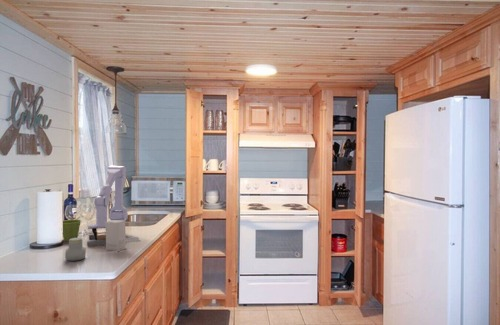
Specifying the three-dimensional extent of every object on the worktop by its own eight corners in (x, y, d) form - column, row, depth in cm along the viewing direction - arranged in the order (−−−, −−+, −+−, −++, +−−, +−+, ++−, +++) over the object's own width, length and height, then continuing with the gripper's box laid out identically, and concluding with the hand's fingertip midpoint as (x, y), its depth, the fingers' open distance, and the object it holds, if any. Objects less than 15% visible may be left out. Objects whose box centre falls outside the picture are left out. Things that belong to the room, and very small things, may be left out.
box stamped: (97, 242, 210) (97, 233, 210) (105, 242, 212) (105, 233, 212) (97, 244, 206) (97, 235, 206) (105, 243, 208) (106, 234, 208)
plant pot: (74, 237, 225) (74, 218, 225) (85, 240, 218) (85, 221, 218) (55, 240, 215) (55, 221, 215) (65, 243, 209) (65, 223, 208)
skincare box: (126, 249, 199) (126, 220, 198) (117, 252, 192) (118, 222, 192) (113, 247, 201) (113, 219, 201) (104, 250, 195) (105, 221, 195)
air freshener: (84, 261, 175) (84, 240, 174) (64, 263, 172) (64, 242, 171) (85, 255, 185) (85, 236, 185) (67, 257, 182) (67, 237, 182)
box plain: (96, 239, 217) (96, 231, 217) (104, 238, 219) (104, 230, 219) (97, 241, 213) (97, 232, 213) (106, 240, 216) (106, 231, 215)
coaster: (118, 239, 222) (118, 238, 222) (137, 237, 226) (137, 236, 226) (120, 243, 212) (120, 242, 212) (140, 241, 216) (140, 240, 216)
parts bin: (87, 240, 218) (87, 234, 218) (113, 238, 223) (113, 233, 223) (87, 247, 202) (87, 241, 202) (115, 244, 207) (115, 239, 207)
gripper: (87, 219, 202) (87, 243, 202) (115, 217, 208) (115, 241, 208) (87, 217, 208) (87, 240, 209) (114, 215, 214) (114, 238, 215)
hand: (101, 241), depth 209 cm, fingers open, 5 cm apart
